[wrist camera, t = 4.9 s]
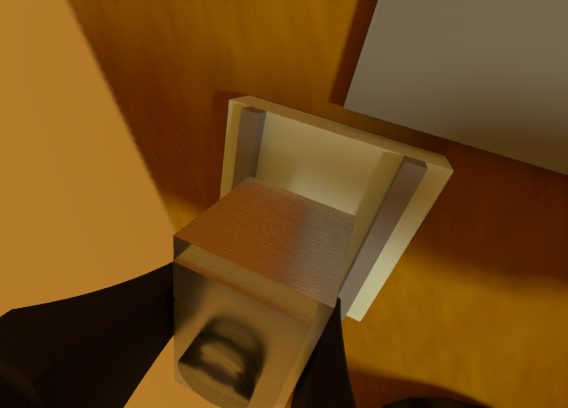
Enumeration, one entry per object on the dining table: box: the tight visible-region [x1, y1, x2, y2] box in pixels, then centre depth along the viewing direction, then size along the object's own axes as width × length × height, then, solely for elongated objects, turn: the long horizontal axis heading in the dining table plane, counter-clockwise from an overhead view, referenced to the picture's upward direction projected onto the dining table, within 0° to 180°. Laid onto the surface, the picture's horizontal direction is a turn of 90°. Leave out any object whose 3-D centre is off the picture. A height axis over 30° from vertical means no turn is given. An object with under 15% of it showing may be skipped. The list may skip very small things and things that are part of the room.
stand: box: [220, 95, 454, 323], centre depth 17 cm, size 12×12×4 cm
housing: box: [173, 177, 356, 408], centre depth 11 cm, size 8×5×6 cm, turn 167°
